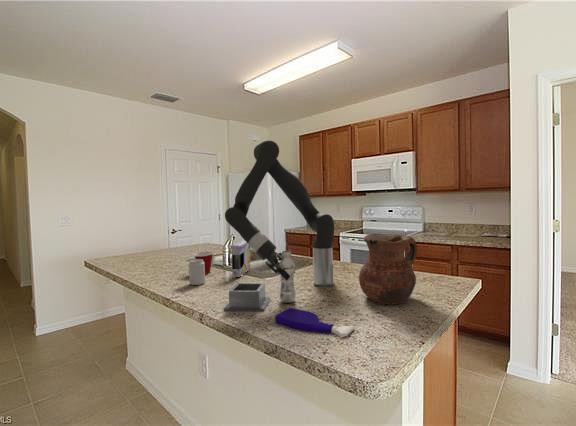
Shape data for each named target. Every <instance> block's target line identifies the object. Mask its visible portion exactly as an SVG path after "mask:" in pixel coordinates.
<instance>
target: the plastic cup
mask: <svg viewBox="0 0 576 426" xmlns="http://www.w3.org/2000/svg"><path fill="white" fill-rule="evenodd" d="M213 254H214V251H212V250H205V251H199V252H195V253H194V254H193V256H194V258H195V259H202V260H203V262H204V263H205V274H206V275H209V274H211V268H212V259H213ZM208 273H209V274H208Z"/></svg>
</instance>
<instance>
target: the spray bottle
mask: <svg viewBox="0 0 576 426" xmlns="http://www.w3.org/2000/svg"><path fill="white" fill-rule="evenodd" d="M274 322H275V324H277V325H280V326H282V327H286V328H289V329H293V330H297V331H301V332H306V333H307V332H308V333H320V334H321V333H322V334H335V335H337V336H339V337H340V338H341V339H342V338H344V337H347V336H348V335H349V334H350V333H352V332H353V331H354V329H355V326H354V325H351V326H350V325H343V324H340V323H338V326H337V325H335V324H332V323H330V324H329V323H326V322H323V321H320V318H319V317H318V315H317V314H316V313H314V312H311V311H309V310H308V311H307V310H303V309H300V308H293V307H288V308H286V309H284V310H282V311H280V312H279V313H277V314H276V315H275V317H274Z"/></svg>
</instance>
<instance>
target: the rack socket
mask: <svg viewBox="0 0 576 426" xmlns="http://www.w3.org/2000/svg"><path fill="white" fill-rule="evenodd" d="M270 301H271V297H270V296H266V283H265V282H237V283H236V284H235V285H234V286H232V287H231V289H230V290H229V291H228V303H227V304H226V305H225V306H224V307H223V311H224V312H265V310H266V308H267V306H268V304H269V302H270Z"/></svg>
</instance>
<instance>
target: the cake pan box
mask: <svg viewBox="0 0 576 426" xmlns="http://www.w3.org/2000/svg"><path fill="white" fill-rule="evenodd" d="M250 270H251V247H250V246H249V244H248V243H247V242H246V241H245V240H244V239H243V240H241V241H239V242H236V243H235V244H232V245H231V273H232V274H231V275H232V277H240V276H241V275H242V274H244V273H245V272H247V271H248V272H249V271H250ZM248 272H247V273H248ZM245 274H246V273H245ZM245 274H244V275H245ZM240 278H241V277H240Z"/></svg>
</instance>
